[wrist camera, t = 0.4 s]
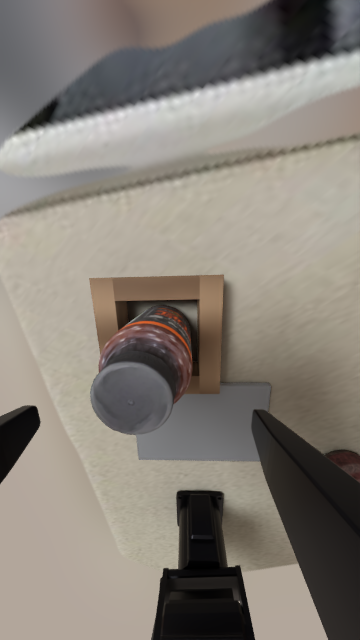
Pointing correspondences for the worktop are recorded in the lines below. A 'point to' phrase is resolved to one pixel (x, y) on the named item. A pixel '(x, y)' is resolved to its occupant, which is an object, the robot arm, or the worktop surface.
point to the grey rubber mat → (209, 426)
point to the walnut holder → (204, 288)
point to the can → (346, 462)
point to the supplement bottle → (143, 371)
